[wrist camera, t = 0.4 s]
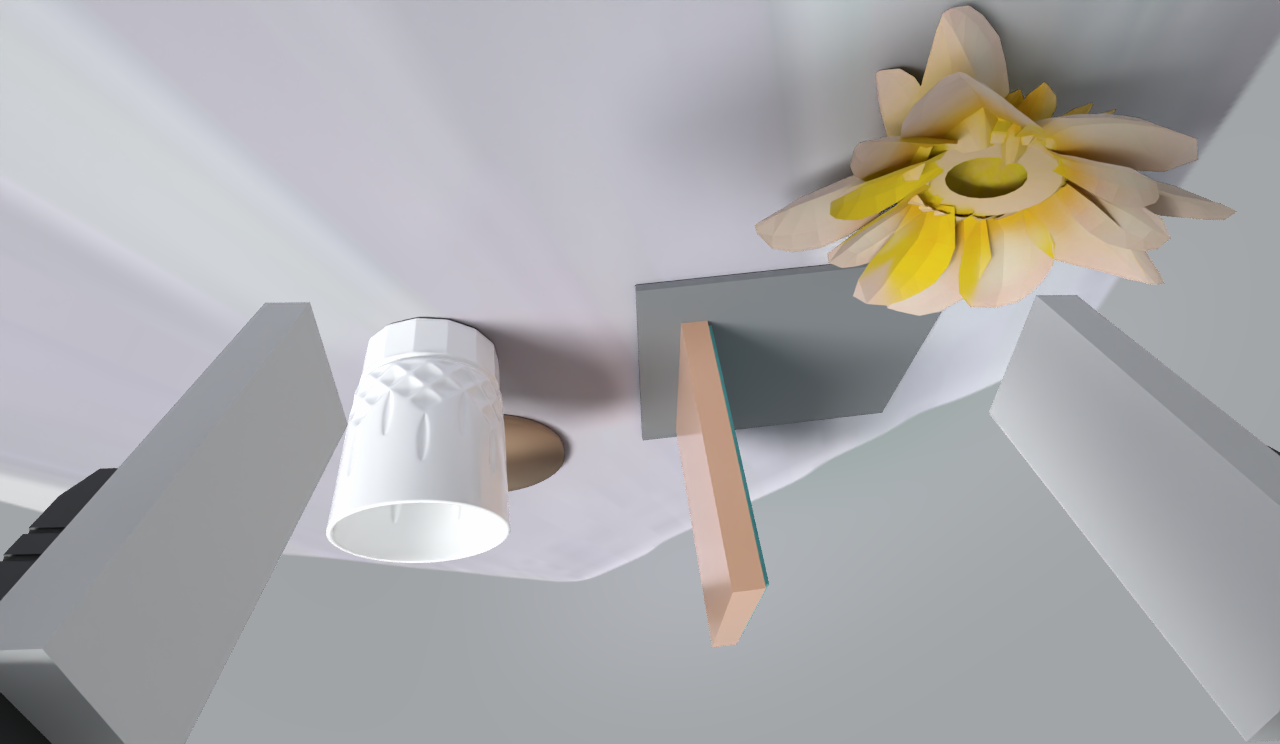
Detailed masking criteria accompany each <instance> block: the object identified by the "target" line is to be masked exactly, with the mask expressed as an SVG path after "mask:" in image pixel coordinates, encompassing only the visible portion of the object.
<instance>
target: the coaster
mask: <svg viewBox="0 0 1280 744" xmlns="http://www.w3.org/2000/svg"><path fill="white" fill-rule="evenodd" d="M503 416H504V417H503V418H504V427H505V440H506V459H507V478H508V491H513V490H518V489H522V488H526V487H529V486H532V485H535V484H537V483H539V482H542V481H544V480H546V479H547V478H549V477H551V476H552V475H553V474H555V473H556V472H557V471H558V470H559V469H560V467H561V466H562V464H563V462H564V445H563V442H562V440H561V438H560V437H559V436H558V435H557V434H556V433H555V432H554V431H553V430H551V429H550V428H548V427H546V426H544V425H542V424H540V423H538V422H535V421H532V420H529V419H525V418H521V417H516V416H511V415H503Z"/></svg>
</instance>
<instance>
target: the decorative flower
mask: <svg viewBox="0 0 1280 744" xmlns="http://www.w3.org/2000/svg"><path fill="white" fill-rule="evenodd" d="M876 85H877V92H878V100H879V109H880V112H881V116H882V120H883V123H884V127H885V131H886V134H887V137H884V138H879V139H874V140H869V141H864V142H860V143H859V144H858V145H857V146H856V147H855V149H854V152H853V156H852V160H851V164H850V168H851V170H852V172H853V174H854V175H853V176H850V177H847V178H844V179H842V180H840V181H837V182H835V183H833V184H831V185H828V186H826V187H824V188H821V189H819V190H817V191H815V192H812V193H810V194H808V195H806V196H803V197H801V198H799V199H797V200H796V201H794V202H792V203H791V204H789V205H787V206H786V207H784V208H783V209H781V210H779V211H777V212H776V213H774V214H772V215H771V216H769V217H767V218H765V219H764V220H762V221H760V222H759V223H757V224H756V225H755V228H756V232H757V233H758V234H759V235H760V236H761V237H762V238H763V239H764V241H765V242H766V243H767V244H768V245H769V246H770V247H771V248H774V249H779V250H784V251H789V252H797V251H804V250H810V249H817V248H822V247H824V246H826V245H828V244H830V243H832V242H835V241H837V240H839V239H841V238H843V237H845V236H847V235H849V234H851V233H853V232H854V231H856V230H858V229H860V228H861V227H863V226H864V227H863V228H861V229H860V230H859V231H857V232H856V233H855V234H853V235H852V236H851V237H849V238H848V239H847V240H845V241H844V242H843V243H841V244H840V245H839V246H837V247H836V248H834V249H833V250H832V251H830V252H829V253H828V261H829V263H830V264H833V265H836V266H838V267H841V268H846V267H855V266H859V265H863V264H866V263H869V264H868V266H867V267H866V269H865V270H864V272H863V273H862V275H861V276H860V278H859V279H858V282H857V285H856V288H855V291H854V294H853V296H854V297H856V298H857V299H859V300H861V301H862V302H864V303H866V304H873V305H886V306H887V308H889V309H893V310H895V311H899V312H904V313H908V314H913V315H918V316H921V315H926V314H931V313H936V312H940V311H942V310H944V309H946V308H947V307H949V306H951V305H953V304H955V303H957V302H958V301H960V300H962V299H964V300H965V301H966V302H967V304H968V305H969V306H970V307H985V308H996V307H1000V306H1004V305H1008V304H1012V303H1016V302H1018V301H1020V300H1021V299H1023V298H1024V297H1026V296H1027V295H1029V294H1030V293H1032V292H1033V291H1034V290H1035V289H1036V287H1037V286H1038V285H1039V284H1040V283H1041V282H1042V281H1043V280H1044V279H1045V277H1046V276H1047V274H1048V272H1049V271H1050V269H1051V267H1052V266H1053V261H1054V260H1057V261H1061V262H1065V263H1069V264H1073V265H1077V266H1081V267H1085V268H1089V269H1093V270H1097V271H1101V272H1105V273H1108V274H1112V275H1115V276H1119V277H1122V278H1126V279H1129V280H1135V281H1141V282H1145V283H1148V284H1150V285H1151V284H1163V283H1164V282H1163V280H1162V277H1161V275H1160V273H1159V272H1158V270H1157V269H1156V267H1155V266H1154V264H1153V263H1152V261H1151V260H1150V258H1149V256H1148V255H1147V253H1146V252H1145V251H1148V250H1155V249H1158V248H1159V247H1161V246H1162V245H1163V244H1164V243H1166V242H1167V241H1168V240H1169V239H1170V236H1169V233H1168V231H1167V228H1166V226H1165V224H1164V221H1163V219H1162V218H1160V217H1159V216H1157V215H1160V216H1171V217H1181V218H1193V219H1194V218H1195V219H1206V220H1225V219H1226V218H1228V217H1229V216H1231V215H1232V214H1234V213H1235V212H1236V211H1235V210H1233V209H1231V208H1229V207H1227V206H1225V205H1223V204H1221V203H1215V202H1213V201H1211V200H1208V199H1206V198H1203V197H1201V196H1198V195H1196V194H1193V193H1191V192H1188V191H1186V190H1183V189H1181V188H1178V187H1176V186H1173V185H1169V184H1165V183H1162V182H1158V181H1154V180H1152V179H1150V178H1148V177H1147V176H1145V175H1143V174H1141V173H1139V172H1137V171H1135V170H1140V171H1156V172H1164V171H1167V170H1170V169H1173V168H1176V167H1179V166H1181V165H1184V164H1187V163H1190V162H1193V161H1196V160H1198V147H1197V139H1196V138H1193V137H1190V136H1188V135H1185V134H1182V133H1180V132H1177V131H1174V130H1171V129H1169V128H1166V127H1163V126H1160V125H1157V124H1154V123H1152V122H1149V121H1146V120H1143V119H1140V118H1137V117H1130V116H1122V115H1114V114H1113V113H1114V111H1115V110H1116V109H1114V110H1111V111H1108V112H1104V113H1101V114H1088V113H1089V111H1090V109H1091V108H1092V106H1093V103H1090V104H1087V105H1084V106H1081V107H1078V108H1075V109H1073V110H1071V111H1069V112H1068V113H1066V114H1064V115H1063V116H1061V117H1053V118H1051V117H1052V115H1053V113H1054V111H1055V109H1056V95H1055V94H1054V92H1053V91H1052V89H1051V88H1050V87H1049V85H1048V84H1046V83H1045V82H1043V83H1042V84H1041V85H1040V86H1039V87H1037V88H1036V89H1035V90H1033V91H1032V92H1031V93H1029V94H1028V95H1027V96H1026V97H1025V99H1024V98H1023V95H1022V92H1021V90H1020V89H1019V90H1017V91H1015V92H1013V93H1010V94H1009V91H1010V89H1009V82H1008V75H1007V67H1006V61H1005V57H1004V53H1003V49H1002V45H1001V41H1000V37H999V35H998V34H997V33H996V31H995V30H994V29H993V27H992V26H991V25H990V23H989V22H988V21H987V20H986V18H985V17H984V16H983V15H982V14H981V13H979V12H978V11H976V10H975V9H973V8H972V7H971V6H961V7H954V8H950V9H949V10H947V11H946V12H944V13H942V16H941V20H940V22H939V25H938V27H937V30H936V33H935V37H934V40H933V44H932V48H931V51H930V55H929V59H928V62H927V66H926V69H925V73H924V77H923V80H922V84H921V86H920V84H919V83H918V82H917V80H916V79H915V77H913V76H912V75H910V74H908V73H906V72H905V71H903V70H901V69H889V70H880V71H878V72H877V73H876ZM895 203H897V205H896V206H894V207H893V208H891V209H890V210H888V211H887V212H885V213H883V214H882V215H880V216H879V217H877V216H878V214H879V213H880V212H881V211H882V210H884V209H886V208H888V207H890V206H891V205H893V204H895ZM1156 214H1157V215H1156ZM876 217H877V218H876ZM875 218H876V219H875Z"/></svg>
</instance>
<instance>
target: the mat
mask: <svg viewBox="0 0 1280 744" xmlns="http://www.w3.org/2000/svg"><path fill="white" fill-rule="evenodd" d="M868 264H869V263H866V264H863V265H859V266H855V267H846V268H841V267H838V266H836V265H833V264H831V265H821V266H812V267H802V268H793V269H783V270H774V271H764V272H755V273H745V274H736V275H727V276H717V277H708V278H698V279H689V280H679V281H670V282H660V283H651V284H641V285H635V286H636V308H637V331H638V354H639V376H640V399H641V421H642V438H643V440H650V439H659V438H668V437H676V436H677V433H676V419H677V398H678V378H679V358H680V338H681V323H690V322H699V321H708V326H711V325H712V330H713V334H714V339H715V343H716V348H717V352H718V357H719V361H720V366H721V370H722V375H723V379H724V384H725V388H726V393H727V397H728V402H729V406H730V411H731V415H732V420H733V424H734V429H735V430H736V429H745V428H753V427H762V426H771V425H779V424H788V423H796V422H805V421H814V420H822V419H831V418H839V417H848V416H856V415H865V414H874V413H882V412H883V410H884V408H885V406H886V405H887V403H888V401H889V400H890V398H891V396H892V394H893V393H894V391H895V389H896V388H897V386H898V384H899V383H900V381H901V379H902V377H903V376H904V374H905V372H906V371H907V369H908V367H909V366H910V364H911V362H912V360H913V359H914V357H915V355H916V354H917V352H918V350H919V349H920V347H921V345H922V343H923V342H924V340H925V338H926V337H927V335H928V333H929V331H930V330H931V328H932V326H933V325H934V323H935V321H936V320H937V318H938V316H939V314H940V313H941V311H940V312H936V313H931V314H926V315H921V316H918V315H913V314H908V313H904V312H899V311H895V310H893V309H889V308H887V306H886V305H873V304H866V303H864V302H862V301H861V300H859V299H857V298H856V297H854V296H853V294H854V291H855V288H856V285H857V282H858V279H859V278H860V276H861V275H862V273H863V272H864V270H865V269H866V267H867V266H868Z"/></svg>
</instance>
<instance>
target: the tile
mask: <svg viewBox="0 0 1280 744" xmlns="http://www.w3.org/2000/svg"><path fill="white" fill-rule="evenodd" d="M676 433H677V439H678V445H679V451H680V457H681V463H682V469H683V475H684V481H685V487H686V493H687V499H688V505H689V511H690V517H691V523H692V529H693V535H694V541H695V547H696V552H697V558H698V564H699V570H700V576H701V582H702V589H703V595H704V601H705V606H706V613H707V618H708V625H709V631H710V637H711V643H712V647H719V646H726V645H734V644H737V643H738V640H739V639H740V638H741V636H742V634H743V632H744V630H745V628H746V627H747V625H748V623H749V621H750V619H751V617H752V615H753V613H754V611H755V610H756V608H757V606H758V604H759V602H760V600H761V598H762V596H763V594H764V593H765V591H766V589H767V586H768V585H769V582H768V577H767V573H766V568H765V564H764V559H763V555H762V550H761V546H760V541H759V537H758V532H757V528H756V523H755V519H754V514H753V510H752V505H751V501H750V496H749V492H748V487H747V483H746V478H745V474H744V469H743V465H742V460H741V456H740V451H739V447H738V442H737V438H736V433H735V429H734V424H733V420H732V415H731V411H730V406H729V402H728V397H727V393H726V388H725V384H724V379H723V375H722V370H721V366H720V361H719V357H718V352H717V348H716V343H715V339H714V334H713V330H712V325H711V326H708V321H699V322H690V323H681V338H680V358H679V378H678V398H677V419H676Z"/></svg>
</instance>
